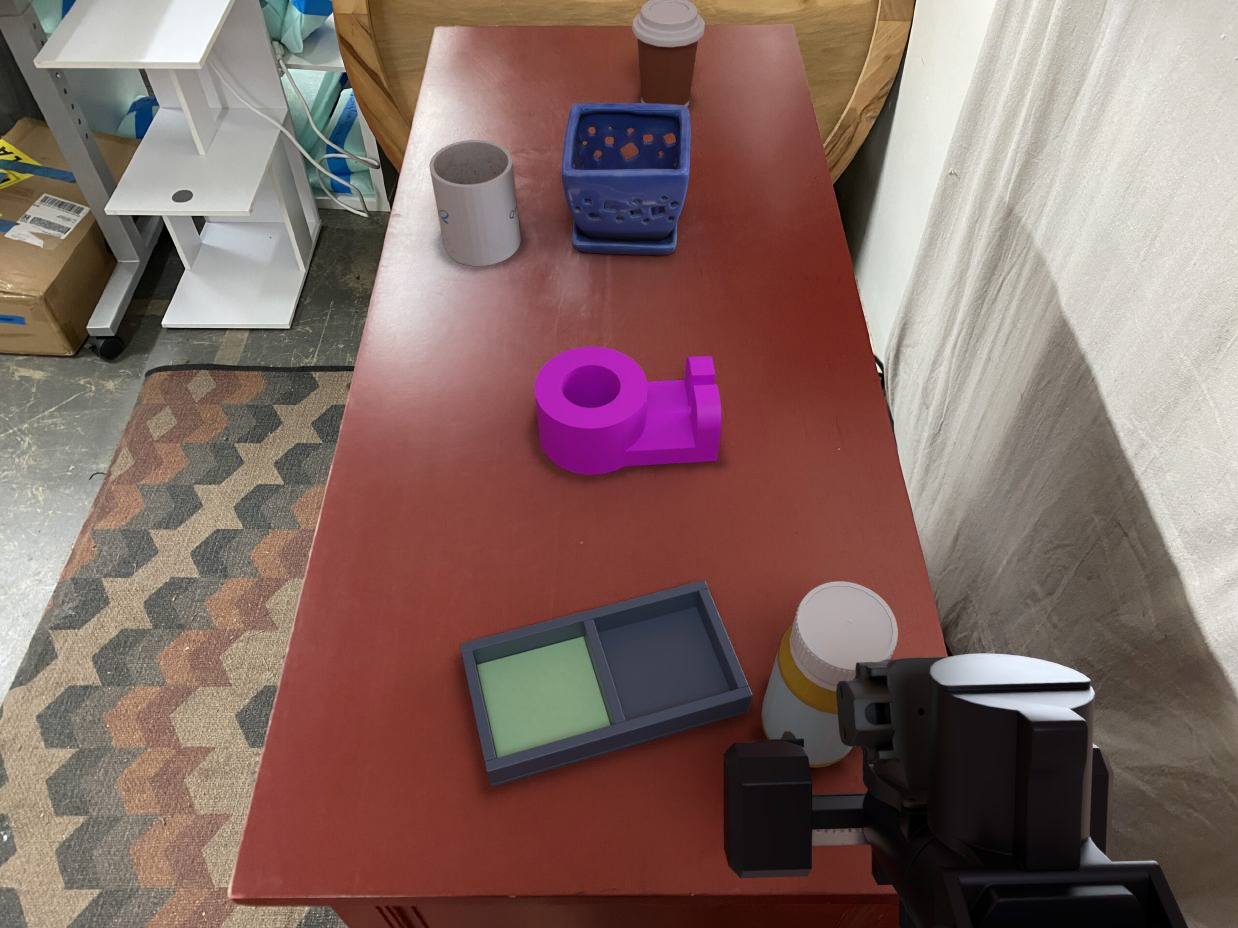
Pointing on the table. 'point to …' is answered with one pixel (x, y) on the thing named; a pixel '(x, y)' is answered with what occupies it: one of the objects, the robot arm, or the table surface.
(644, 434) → the tape dispenser
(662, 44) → the coffee cup
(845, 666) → the bottle
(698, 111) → the table surface
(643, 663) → the blue-grey divided tray
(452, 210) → the mug
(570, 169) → the flower pot
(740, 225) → the table surface
